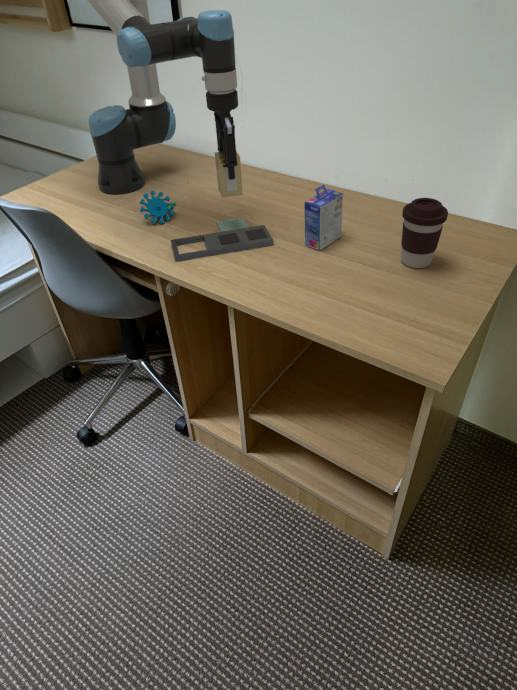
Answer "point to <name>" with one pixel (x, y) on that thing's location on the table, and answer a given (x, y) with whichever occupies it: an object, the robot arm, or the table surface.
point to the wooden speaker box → (222, 177)
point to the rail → (225, 242)
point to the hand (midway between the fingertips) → (229, 185)
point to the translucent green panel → (232, 224)
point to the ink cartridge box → (323, 218)
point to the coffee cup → (421, 231)
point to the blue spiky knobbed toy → (157, 207)
